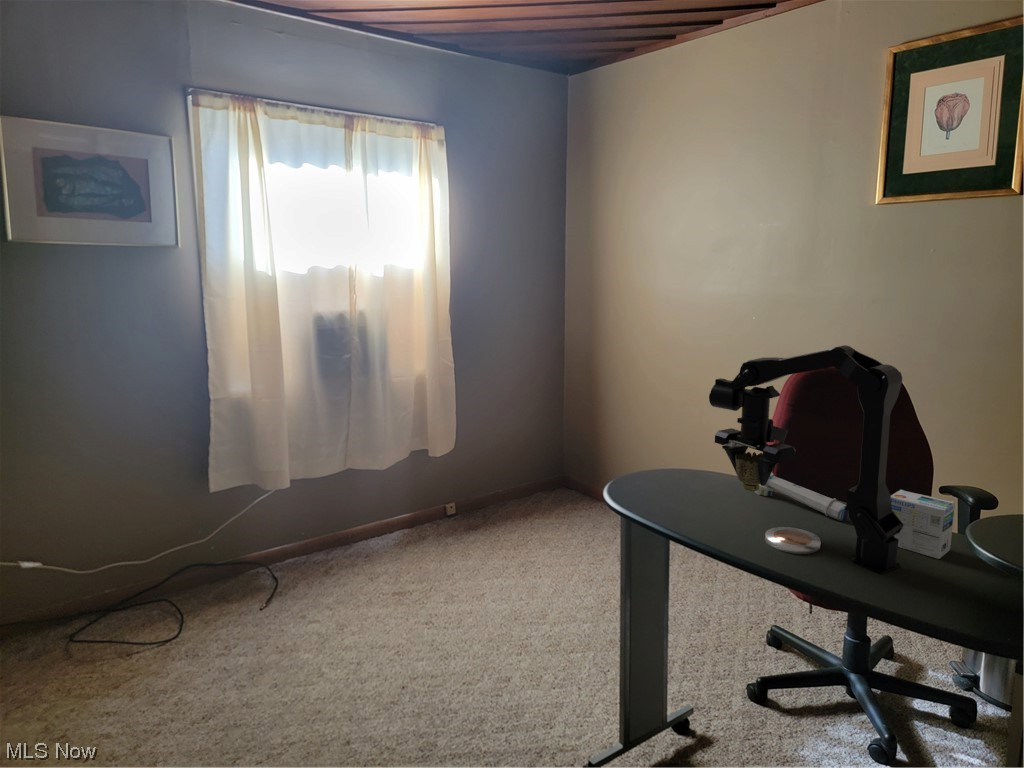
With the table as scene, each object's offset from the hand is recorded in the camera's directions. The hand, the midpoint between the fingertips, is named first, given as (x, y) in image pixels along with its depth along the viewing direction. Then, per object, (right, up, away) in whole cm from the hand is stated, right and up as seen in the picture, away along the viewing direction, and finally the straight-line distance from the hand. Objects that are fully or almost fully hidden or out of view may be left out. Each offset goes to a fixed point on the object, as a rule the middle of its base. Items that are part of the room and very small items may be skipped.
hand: (751, 481), depth 151 cm
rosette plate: (+6, -12, -8) cm, 16 cm away
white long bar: (+16, -8, +13) cm, 22 cm away
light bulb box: (+31, -12, -11) cm, 35 cm away
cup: (0, -2, 0) cm, 2 cm away
